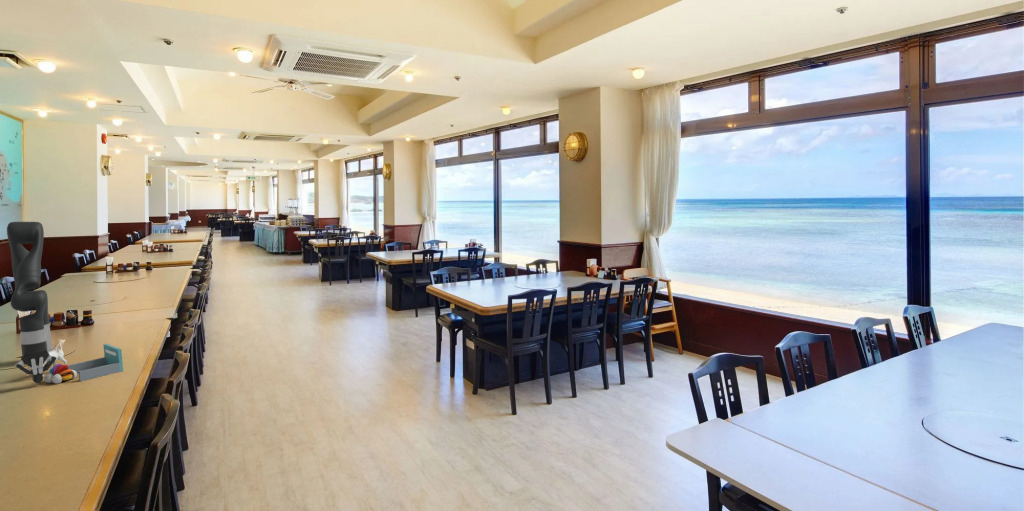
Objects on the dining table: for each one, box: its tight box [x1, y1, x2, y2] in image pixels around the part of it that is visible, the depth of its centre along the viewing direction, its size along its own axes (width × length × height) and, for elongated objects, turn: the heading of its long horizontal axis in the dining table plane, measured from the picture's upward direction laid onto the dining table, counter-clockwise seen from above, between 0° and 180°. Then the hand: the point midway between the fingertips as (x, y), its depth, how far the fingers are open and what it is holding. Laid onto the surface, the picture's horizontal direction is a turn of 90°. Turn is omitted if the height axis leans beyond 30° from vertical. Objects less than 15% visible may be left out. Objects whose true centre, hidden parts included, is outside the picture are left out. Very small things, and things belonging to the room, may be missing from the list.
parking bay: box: [67, 343, 124, 382], centre depth 224 cm, size 15×15×10 cm
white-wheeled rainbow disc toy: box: [43, 363, 78, 385], centre depth 215 cm, size 8×10×7 cm
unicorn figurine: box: [26, 336, 68, 378], centre depth 224 cm, size 7×20×13 cm, turn 4°
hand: (38, 382), depth 209 cm, fingers closed
